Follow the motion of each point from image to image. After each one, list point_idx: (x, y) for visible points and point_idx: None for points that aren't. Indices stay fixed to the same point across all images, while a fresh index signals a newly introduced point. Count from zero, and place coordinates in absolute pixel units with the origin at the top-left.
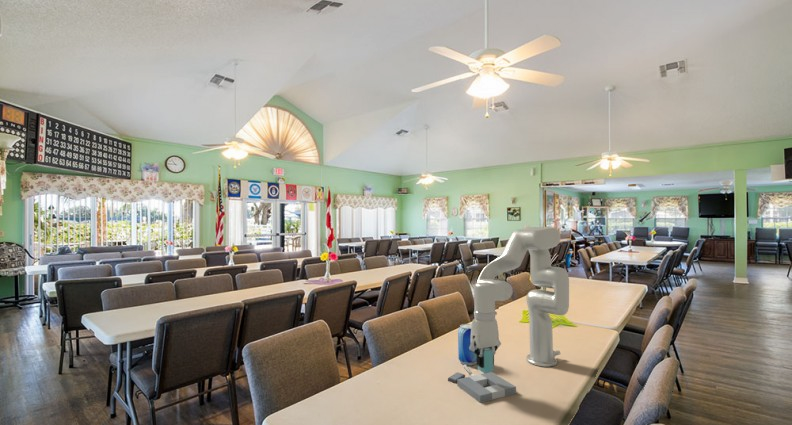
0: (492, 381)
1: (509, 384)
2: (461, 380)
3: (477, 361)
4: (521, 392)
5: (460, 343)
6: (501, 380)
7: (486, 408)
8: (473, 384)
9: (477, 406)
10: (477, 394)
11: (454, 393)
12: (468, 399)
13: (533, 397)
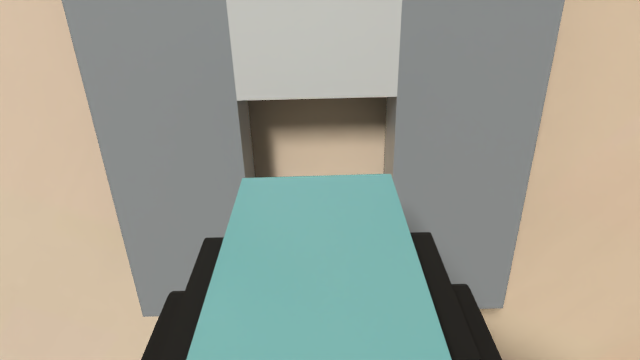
0: (398, 170)
1: (488, 266)
2: (96, 21)
3: (163, 326)
4: (530, 275)
5: None
6: (490, 186)
7: None
8: (184, 151)
9: (120, 306)
10: (138, 289)
11: (10, 97)
12: (96, 218)
13: (537, 343)
